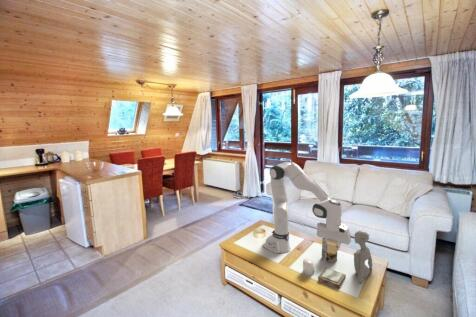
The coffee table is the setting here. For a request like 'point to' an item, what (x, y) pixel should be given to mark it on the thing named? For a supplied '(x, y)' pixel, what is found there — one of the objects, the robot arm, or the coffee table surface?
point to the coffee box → (325, 255)
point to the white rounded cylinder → (308, 267)
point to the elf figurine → (362, 256)
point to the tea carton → (332, 246)
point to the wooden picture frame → (331, 277)
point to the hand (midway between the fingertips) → (332, 246)
